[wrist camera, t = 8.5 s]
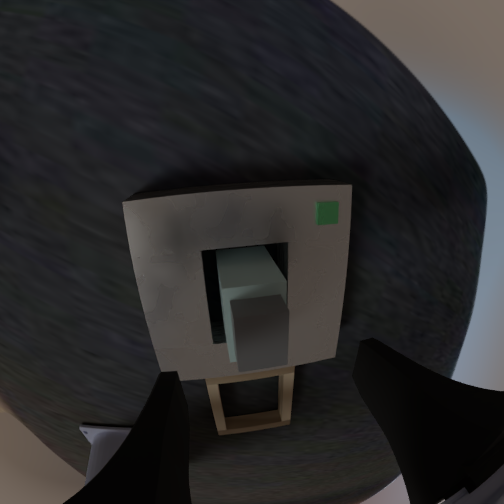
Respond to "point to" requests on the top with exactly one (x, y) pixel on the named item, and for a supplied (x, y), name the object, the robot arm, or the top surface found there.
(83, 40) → the top surface
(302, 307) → the port
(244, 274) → the plug
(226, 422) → the tan square frame
